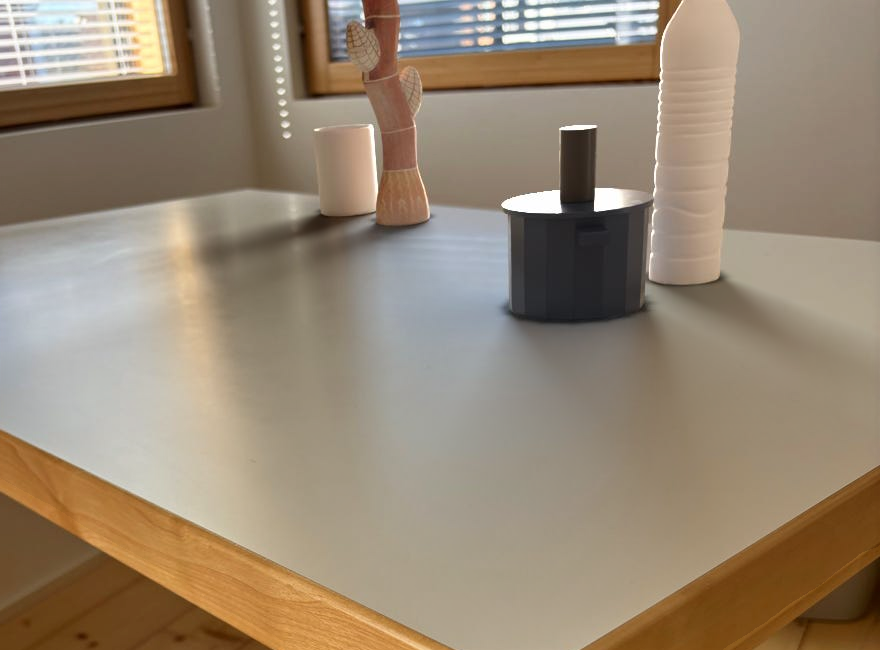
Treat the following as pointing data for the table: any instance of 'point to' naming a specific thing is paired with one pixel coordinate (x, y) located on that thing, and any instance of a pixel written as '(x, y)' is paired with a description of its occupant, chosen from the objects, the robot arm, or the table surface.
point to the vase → (391, 111)
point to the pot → (577, 267)
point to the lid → (578, 186)
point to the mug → (346, 169)
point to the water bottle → (693, 142)
